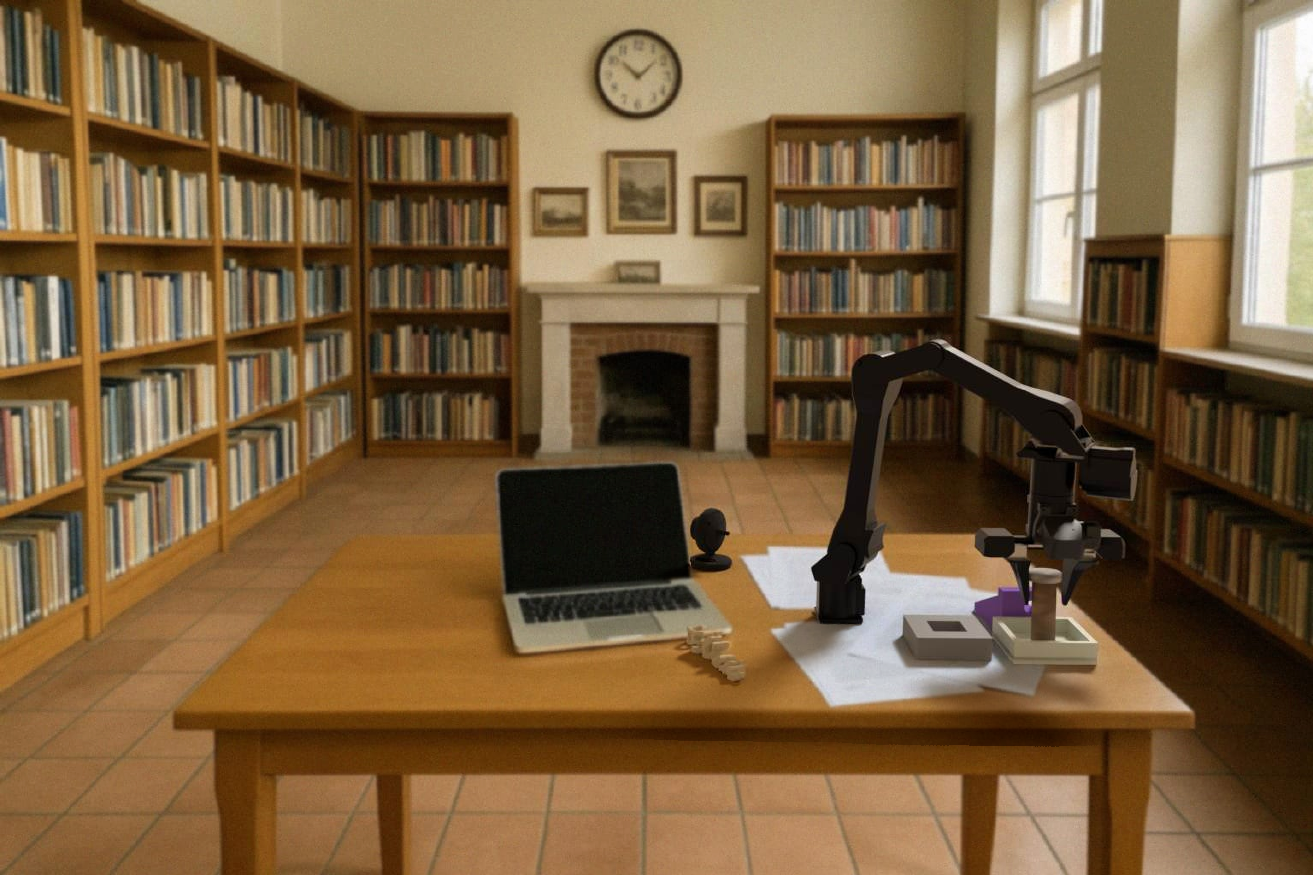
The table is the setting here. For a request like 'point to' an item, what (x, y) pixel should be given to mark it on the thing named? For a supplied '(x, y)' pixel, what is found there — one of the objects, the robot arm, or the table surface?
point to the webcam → (709, 540)
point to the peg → (1044, 603)
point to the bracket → (1003, 605)
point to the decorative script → (715, 651)
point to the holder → (947, 637)
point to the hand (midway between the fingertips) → (1045, 604)
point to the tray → (1044, 642)
